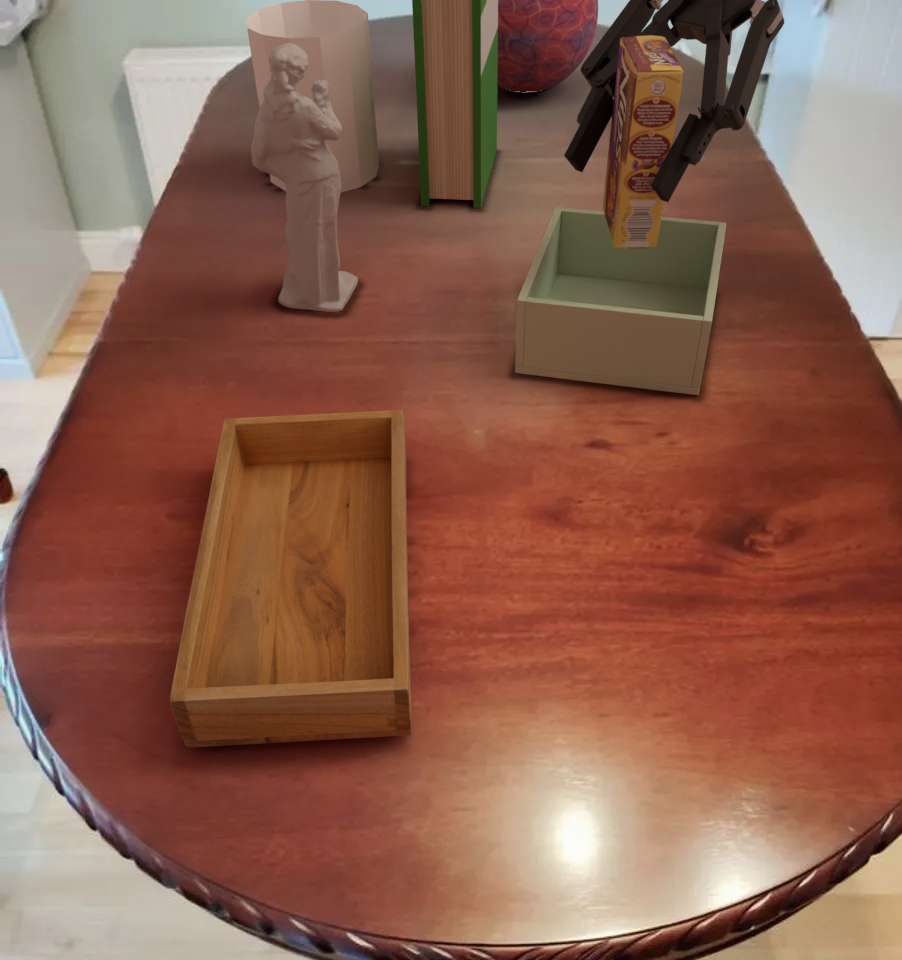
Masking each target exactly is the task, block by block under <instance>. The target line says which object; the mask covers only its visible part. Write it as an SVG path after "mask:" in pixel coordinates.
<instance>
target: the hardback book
mask: <svg viewBox="0 0 902 960" xmlns="http://www.w3.org/2000/svg"><path fill="white" fill-rule="evenodd" d="M411 5H412V9H411V10H412V29H413V50H414V52H413V54H414V72H415V73H414V74H415V93H416V94H415V95H416V97H415V98H416V117H417V118H416V120H417V138H418V139H417V140H418V141H417V142H418V159H419V160H418V162H419V163H418V164H419V165H418V166H419V181H420V182H419V184H420V185H419V186H420V187H419V188H420V204H421V206H422V207H423V206H425V207H429V206H430V203H431V201H432V199H438V200H461V201H463V200H464V201H472V203H473V205H472V206H473V209H481V208H482V206H483V202H484V199H485V195H486V191H487V187H488V184H489V180H490V176H491V173H492V168H493V166H494V161H495V158H496V154H497V149H498V87H497V68H498V0H411Z"/></svg>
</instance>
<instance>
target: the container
mask: <svg viewBox="0 0 902 960" xmlns="http://www.w3.org/2000/svg"><path fill="white" fill-rule="evenodd" d="M245 22H246V29H247V36H248V43H249V49H250V56H251V61H252V68H253V75H254V81H255V89H256V94H257V101H258V109H259V108H260V106H261V104H262V102H263V100H264V95H263V93H264V89H265V87H266V86H267V84H268V82H269V81H270V79H271V75H272V73H271V72H270V63H269V57H270V56H271V51H272V50H273V49H275V48H276V47H278V46H280V45H282V44H285V43H292V44H296V45H298V46H299V47H300V48H301V49H303V50H304V51H305V52H306V54H307V56H308V59H309V60H308V61H307V62H308V67H307V69H306V70H305V72H304V75H305V77H304V78H303V79H301V80H300V81H299V82H298V83H297V84H296V90H297V93H298V94H300V95H303V96H306V97H308V98H310V99H311V100H313V92H312V90H311V88H312V87H313V83H315V82H317V80H326V81H327V82H328V84H329V85H330V86H329V89H328V90H329V94H330V99H331V106H332V109H333V112H334V114H335V116H336V117H337V119H338V121H339V122H340V123H341V126H342V134H341V136H340V138H339V139H338V140H336V141H332V140H325V141H324V143H325V144H326V145H327V146H328V148H329V149H330V151H331V152H332V154H333V155H334V157H335V158H336V160H337V161H338V164H339V171H340V178H341V187H342V189H341V192H340V194H342V193H344V192H348V191H351V190H355V189H358V188H361V187H363V186H365V185H367V184H368V183H370V182H371V181H372V180H374V179H375V178H377V176H378V171H379V167H380V160H379V159H380V158H379V148H378V147H379V145H378V134H377V120H376V106H375V105H376V104H375V92H374V78H373V66H372V64H373V63H372V51H371V37H370V26H369V25H370V24H369V23H370V22H369V13H368V12H367V11H365V10H364V9H363V8H362V7H360V6H359V5H358V4H353V3H348V2H343V1H339V0H299V1H298V0H295V1H288V2H280V3H276V4H274V5H269V6H266V7H264V8H260V9H257V10H256V11H255V12H253V13H252V14H250V15H249V16H248V17H246V18H245ZM269 180H270V183H271V184H273V185H275V186H277V187H278V188H280V189H282V190H283V191H285V192H286V185H285V183H284V182H283V181H281V180H280V179H278V178H277V177H275V176H273V175H271V174H269Z"/></svg>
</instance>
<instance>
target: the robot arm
mask: <svg viewBox="0 0 902 960" xmlns="http://www.w3.org/2000/svg"><path fill="white" fill-rule="evenodd" d="M663 2H664V0H629V1H627V3H626V5H625V6H624V7H623V8H622V10H621V12H620V13H619V14H618V16H617V17H616V18H615V19H614V21H613V22H612V24H611V25H610V27H609V28H608V29H607V30H606V31H605V33H604V34H603V36H602V37H601V39H600V40H599V41H598V43H597V44H596V45H595V46H594V48H593V49H592V51H591V52H590V54H589V55H588V56H587V58H586V60H584V62H583V63H582V65H581V66H580V73H581V74H582V76H583V78H585V80H586V82H587V83H588V84H589V86H590V87H591V88H590V91H589V93H588V94H587V97H586V99H585V100H584V102H583V104H582V106H581V108H580V110H579V112H578V113H577V117H576V122H577V124H578V125H579V126H578V128H577V130H576V132H575V133H574V135H573V137H572V139H571V141H570V143H569V145H568V147H567V149H566V151H565V153H564V154H563V156H564V159H566V161H568V163H569V164H570V165H571V166H572V168H573V169H574V170H575V171H578V172H580V173H583V172H584V170H585V169H586V167H587V164H588V162H589V160H590V158H591V156H592V155H593V152H594V151H595V149H596V147H597V145H598V143H599V141H600V139H601V138H602V136H603V134H604V132H605V130H606V128H607V126H608V124H609V123H610V120H612V112H613V102H614V93H615V84H616V75H617V65H618V56H619V46H620V39H621V38H622V37H634V36H648V35H654V36H663V37H665V38H666V40H667V42H668V43H669V45H670V47H671V48H672V47H674V46H675V45H676V44H677V43H679V42H680V41H681V40H687V41H690V40H693V41H694V40H696V41H698V42H700V43H701V44H703V45H705V54H704V66H703V78H702V79H703V80H702V89H701V99H700V106H697V110H698V112H699V114H700V116H698V115H697V114H693V113H689V114H688V116H687V117H686V119H685V121H684V122H683V125H682V127H681V129H680V130H679V131H678V132H679V133H678V134H677V136H676V138H675V140H673V145H672V147H671V149H670V151H669V153H668V154H667V156H666V158H665V160H664V162H663V164H662V166H661V167H660V169H659V171H658V173H657V175H656V177H655V179H654V180H653V182H652V184H651V186H652V188H653V189H654V191H655V192H656V193H657V195H658V196H659V198H660V199H661V200H663V201H664V202H666V203H669V202H670V200H671V199H672V196H673V194H674V192H675V191H676V189H677V187H678V185H679V183H680V181H681V180H682V177H684V174H685V172H686V171H687V168H688V167H689V165H692V166H696V165H697V164H698V163H699V162H700V161H701V160H702V158H703V156H704V154H705V152H706V150H707V148H708V147H709V145H710V143H711V142H712V140H713V138H714V136H715V134H716V133H717V132H718V131H720V130H723V129H731V130H732V131H739V130H741V129H742V128H743V127H744V125H745V122H746V120H747V116H748V114H749V111H750V108H751V104H752V101H753V98H754V96H755V92H756V89H757V86H758V83H759V80H760V77H761V73H762V70H763V67H764V65H765V62H766V60H767V59H766V58H767V56H768V53H769V49H770V47H771V44H772V43H773V42H774V40H775V38H776V37H777V35H778V34H779V33H780V31H781V30H782V29H783V26H784V24H785V18H784V16H783V13H782V9H781V6H780V5H779V4H780V3H779V1H778V0H766V1H763V0H667V1H666V2H665V3H664V4H663V5H662V3H663ZM650 20H651V22H650ZM747 21H749V28H748V31H747V33H746V36H745V39H744V42H743V45H742V49H741V52H740V55H739V59H738V61H737V63H736V67H735V71H734V74H733V76H732V79H731V83H730V85H729V89H728V91H727V95H726V89H727V88H726V87H727V77H728V75H727V74H728V64H729V56H731V51H732V41H733V40H732V39H733V32H734V31H735V30H737V29H738V28H739V27H740V26H741V25H743V24H745V23H746V22H747ZM649 22H650V23H649ZM669 22H670V24H671V26H672V27H670V26H669ZM648 23H649V24H648ZM725 97H726V98H725Z"/></svg>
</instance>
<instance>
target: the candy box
mask: <svg viewBox="0 0 902 960" xmlns="http://www.w3.org/2000/svg"><path fill="white" fill-rule="evenodd" d="M684 74H685V71H684V69H683V67H682V65H681V63H680V61H679V60H678V58H677V56H676V54H675V52H674V51H673V49H672V47H670V45H669V43H668V42H667V40H666V38H665V37H663V36H654V35H648V36H634V37H622V38H621V39H620V46H619V56H618V65H617V75H616V84H615V93H614V97H613V100H614V102H613V112H612V117H611V122H610V131H609V132H610V133H609V142H608V149H607V150H608V151H607V159H606V160H607V162H606V171H605V181H604V191H603V199H602V211H604V214H605V218H606V220H607V224H608V228H609V231H610V233H611V238H612V241H613V244H614V248H616V249H647V248H656V247H657V242H658V236H659V229H660V223H661V217H663V216H662V215H663V208H664V203H665V201H663V200H661V199H660V198H659V196H658V195H657V193H656V192H655V191H654V189H653V188H652V186H651V184H652V182H653V180H654V179H655V177H656V175H657V173H658V171H659V169H660V167H661V166H662V164H663V162H664V160H665V158H666V156H667V154H668V153H669V151H670V149H671V147H672V145H673V143H674V138H675V131H676V126H677V118H678V112H679V107H680V100H681V94H682V88H683V82H684Z"/></svg>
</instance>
